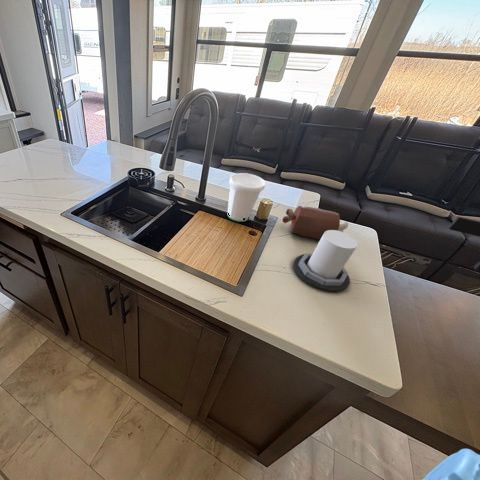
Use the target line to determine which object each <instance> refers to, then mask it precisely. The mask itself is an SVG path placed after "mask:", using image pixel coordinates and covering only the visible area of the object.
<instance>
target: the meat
mask: <svg viewBox="0 0 480 480" xmlns="http://www.w3.org/2000/svg"><path fill="white" fill-rule="evenodd" d="M282 223H283V224H287V223H290V229H291V232H292V233H293V234H297V235H299V236H301V237H305V238H310V239H317V240H321V238H322V236H323V234H324V232H325V231H328V230H337V231H341V232H344V230H346V229H348V226H349V222H347V221H345V220H344V221H342V222H341V216H340V214H339V213H338V212H336V211H331V210H326V209H322V208H319V207H313V206H309V205H298V206H297V207H296V208H295V210H294V211H293V209H292V208H291V207H289V208H287V209H286V211H285V215H284V216H283V218H282Z"/></svg>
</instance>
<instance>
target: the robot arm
mask: <svg viewBox="0 0 480 480" xmlns="http://www.w3.org/2000/svg"><path fill="white" fill-rule="evenodd" d="M447 228H448V230H449V231H450V230H451V231H455V232H458V233H463V234H467V235H470V236H474V237H479V238H480V220H476V219H471V218H467V217H462V216H459V215H458V216H456V218H454V220H453V221H452V222H451V223H450V224H449V225H448V226H447ZM473 268H474V270H476V271H478V272H479V271H480V260H479V261H478V262H477V263H476V264H475V265H473ZM421 480H480V454H479V453H476V452H475V451H473V450H472V449H469V448H461V449H460V450H458V451H457V452H454V453H452V454H450V455H449V456H447V457H446V458H445V459H443V460H442V461H441V462H440V463H438V464H437V465H436V466H435V467H434V468H432V469H431V470H430V471H429V472H428V473H427V474H426V475H424V477H423V479H421Z"/></svg>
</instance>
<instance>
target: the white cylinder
mask: <svg viewBox="0 0 480 480" xmlns="http://www.w3.org/2000/svg"><path fill="white" fill-rule="evenodd" d="M358 246H359V241H357V239H356V238H355V237H353V236H352V235H350V234H348V233H347V232H344V231H343V232H341V231H337V230H328V231H325V232H324V234H323V236H322V238H321V239H319V241H318V244H317V245H316V246H315V248H314V251H313V252H312V253H313V254H312V256H311V258H310V260H309V262H308V263H307V267H308V269H309V270H310V272H312V273H314V274H316V275H318V276H320V277H322V278H324V279H336V277H337V276H338V274H339V273H340V271H341V270H342V268H344V267H345V266H346V264H347V262H348V261H349V259H350V258H351V257H352V255H353V254H354V252H355V251H356V250H357V247H358Z"/></svg>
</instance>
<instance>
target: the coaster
mask: <svg viewBox="0 0 480 480" xmlns="http://www.w3.org/2000/svg"><path fill="white" fill-rule="evenodd" d="M312 254H313V252H312V253H308V252H306V253H304V254H301V255H298V256H297V257H296V258H295V259H294V261H293V263H292V269H293V272H294V273H295V275H296V276H297V277H298V278H299V279H300V281H302V283H304V284H306V285H308V286H309V287H311V288H313V289H315V290H318V291H321V292H325V293H332V294H337V293H341V292H343V291H345V290H347V288H348V287H349V285H350V283H351V281H350V280H351V279H350V276H349V273H348V271H347V269H345V268H344V267H343V268H342V270H341V271H340V273H339V274H338V276H337V277H336V279H324V278H322V277H320V276H318V275H316V274H314V273H312V272H310V270H309V269H308V267H307V263H308V262H309V260H310V258H311V256H312Z"/></svg>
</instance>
